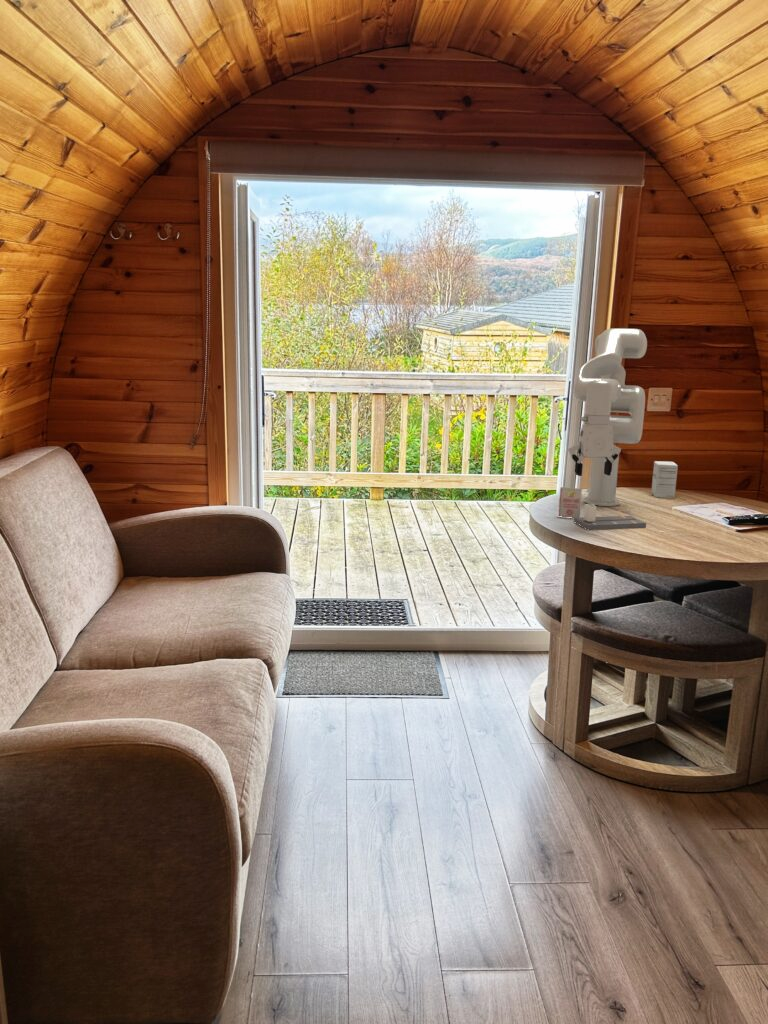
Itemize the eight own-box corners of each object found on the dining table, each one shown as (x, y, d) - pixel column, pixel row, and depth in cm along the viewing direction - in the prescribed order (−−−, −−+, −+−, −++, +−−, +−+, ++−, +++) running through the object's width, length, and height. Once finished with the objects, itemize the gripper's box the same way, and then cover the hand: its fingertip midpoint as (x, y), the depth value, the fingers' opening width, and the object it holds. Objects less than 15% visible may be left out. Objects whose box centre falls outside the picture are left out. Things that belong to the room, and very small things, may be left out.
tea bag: (559, 515, 270) (561, 486, 267) (579, 516, 268) (581, 487, 265) (558, 517, 266) (560, 488, 264) (579, 519, 264) (581, 489, 262)
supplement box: (650, 493, 306) (653, 460, 303) (670, 494, 305) (674, 461, 302) (654, 497, 299) (657, 464, 296) (675, 498, 298) (678, 464, 295)
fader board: (573, 522, 260) (574, 517, 260) (630, 520, 264) (630, 515, 264) (587, 530, 251) (587, 525, 251) (645, 527, 255) (646, 522, 255)
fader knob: (583, 519, 257) (585, 503, 256) (590, 518, 258) (592, 503, 256) (588, 521, 254) (589, 506, 253) (595, 521, 255) (596, 505, 253)
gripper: (576, 422, 243) (572, 477, 247) (628, 421, 246) (624, 476, 250) (565, 419, 250) (562, 473, 254) (617, 419, 254) (612, 472, 257)
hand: (592, 475), depth 252 cm, fingers open, 9 cm apart
